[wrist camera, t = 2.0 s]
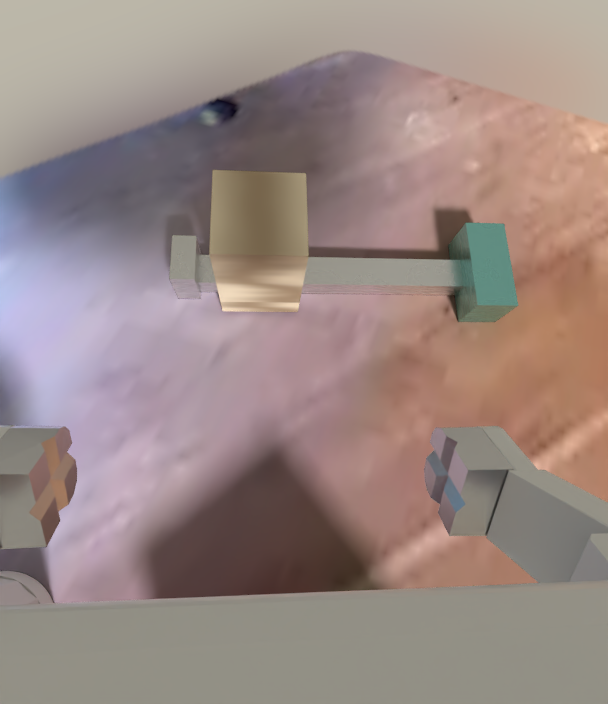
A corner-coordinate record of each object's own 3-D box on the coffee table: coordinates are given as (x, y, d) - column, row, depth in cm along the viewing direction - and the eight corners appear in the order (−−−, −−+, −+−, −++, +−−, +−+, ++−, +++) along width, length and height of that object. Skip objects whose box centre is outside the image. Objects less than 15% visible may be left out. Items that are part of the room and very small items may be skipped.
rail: (483, 246, 33) (503, 223, 30) (495, 321, 32) (518, 305, 29) (181, 239, 31) (173, 214, 28) (177, 319, 30) (167, 301, 27)
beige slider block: (296, 245, 32) (306, 173, 24) (297, 311, 30) (308, 256, 23) (224, 244, 31) (212, 169, 24) (222, 311, 30) (209, 253, 22)
